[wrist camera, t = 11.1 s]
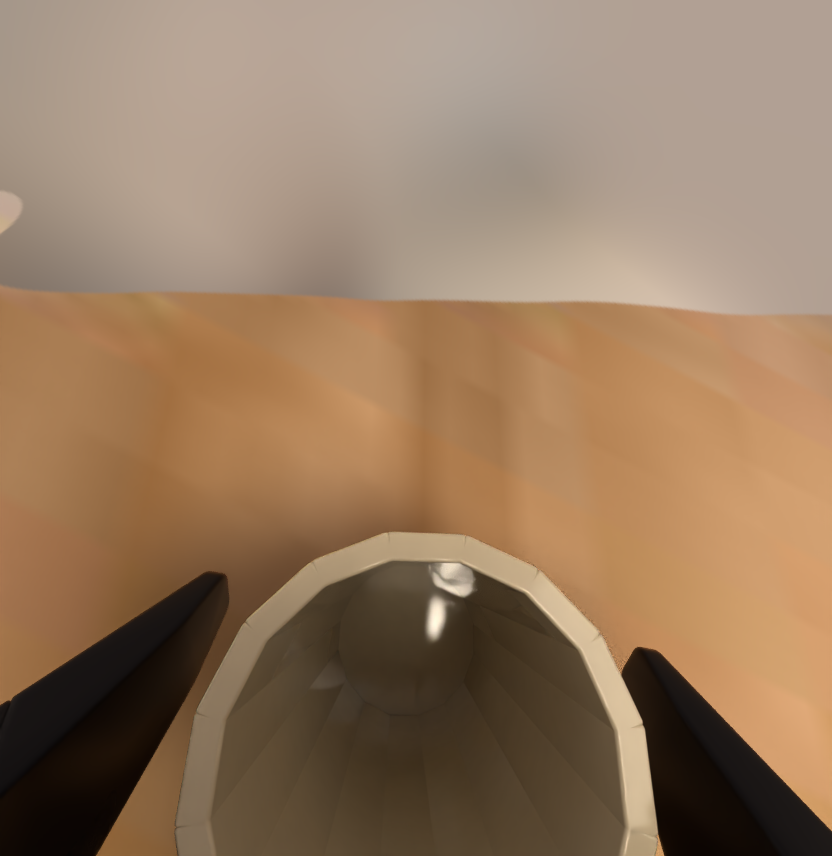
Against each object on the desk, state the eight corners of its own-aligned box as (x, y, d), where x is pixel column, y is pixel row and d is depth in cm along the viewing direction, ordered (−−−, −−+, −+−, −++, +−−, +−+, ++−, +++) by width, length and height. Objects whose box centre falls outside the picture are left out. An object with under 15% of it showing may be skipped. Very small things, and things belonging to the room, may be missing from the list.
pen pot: (445, 751, 16) (577, 1275, 4) (303, 676, 17) (66, 945, 5) (501, 593, 18) (697, 641, 6) (372, 532, 19) (326, 468, 7)
